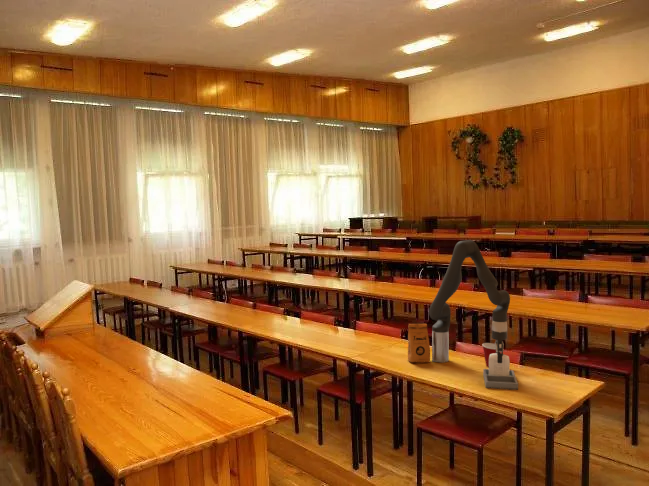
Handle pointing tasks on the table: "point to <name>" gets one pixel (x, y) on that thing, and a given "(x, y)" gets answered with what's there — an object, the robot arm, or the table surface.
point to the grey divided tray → (500, 380)
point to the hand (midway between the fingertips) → (499, 360)
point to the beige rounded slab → (499, 365)
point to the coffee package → (418, 343)
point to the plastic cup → (488, 351)
